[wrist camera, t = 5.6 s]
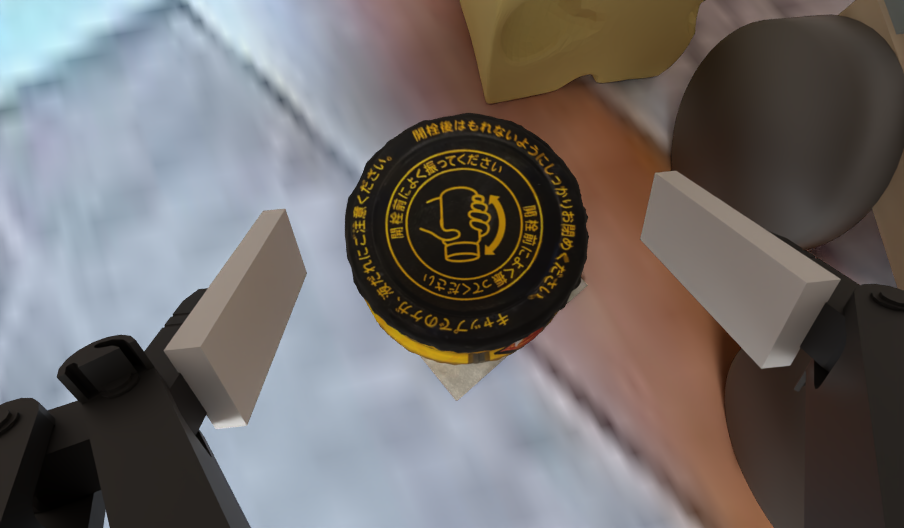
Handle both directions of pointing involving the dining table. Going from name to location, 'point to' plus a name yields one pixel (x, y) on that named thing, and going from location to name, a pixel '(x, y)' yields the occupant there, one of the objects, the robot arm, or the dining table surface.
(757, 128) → the trolley
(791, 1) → the dining table surface
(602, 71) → the cheese
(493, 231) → the condiment
